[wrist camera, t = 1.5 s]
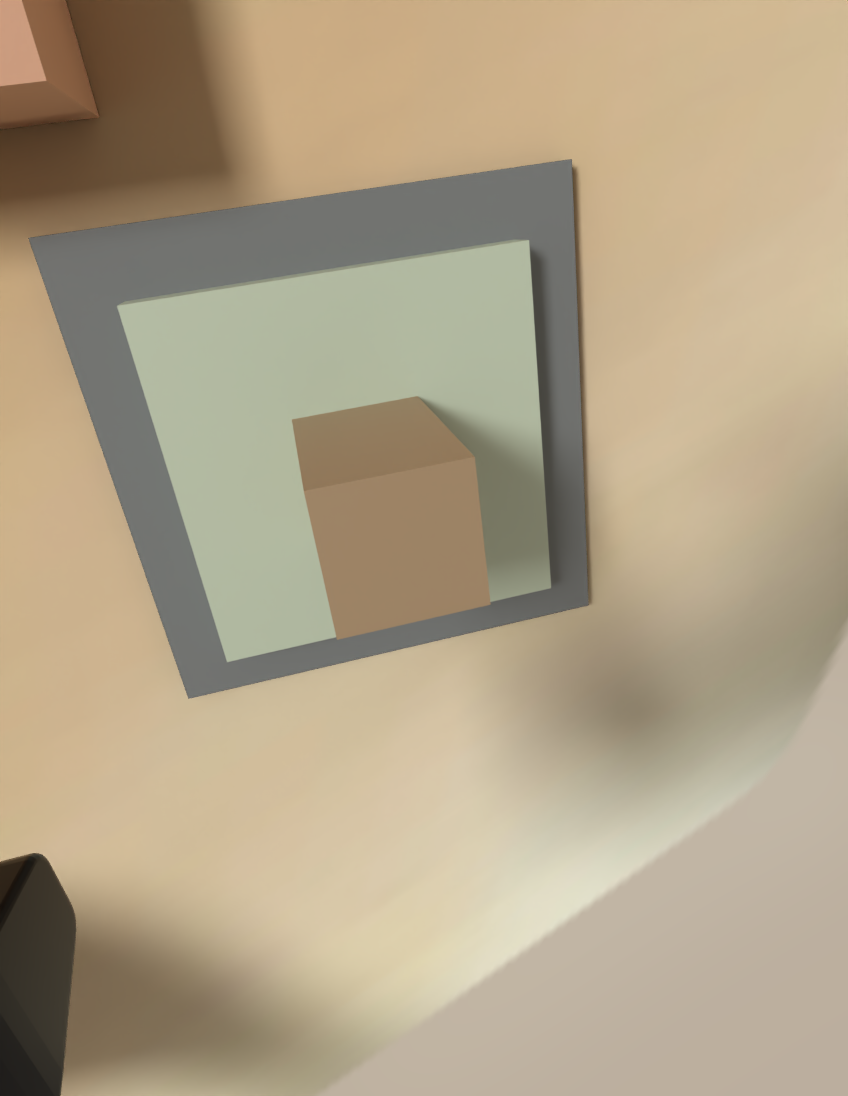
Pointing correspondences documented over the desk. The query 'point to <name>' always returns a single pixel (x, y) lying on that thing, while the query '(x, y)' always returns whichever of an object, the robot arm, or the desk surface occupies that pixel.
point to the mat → (293, 248)
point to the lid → (352, 441)
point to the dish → (41, 66)
